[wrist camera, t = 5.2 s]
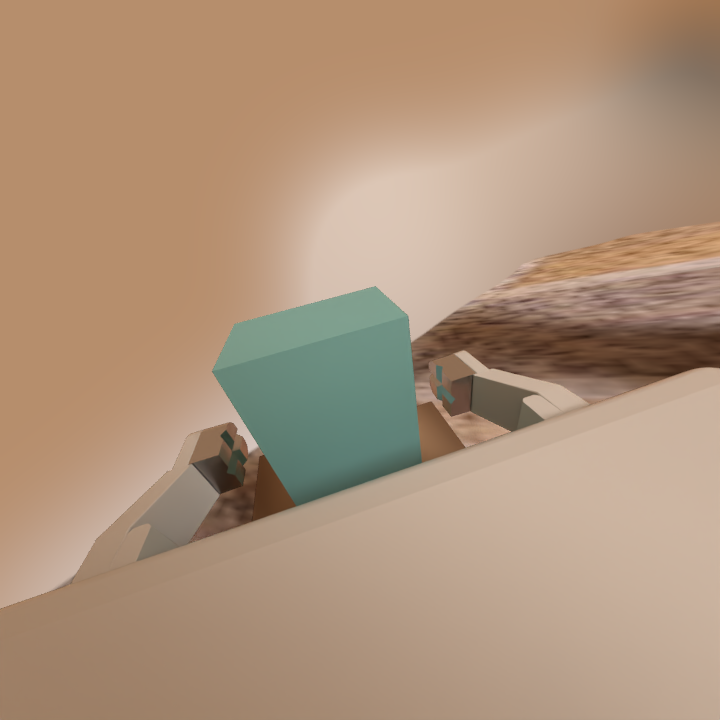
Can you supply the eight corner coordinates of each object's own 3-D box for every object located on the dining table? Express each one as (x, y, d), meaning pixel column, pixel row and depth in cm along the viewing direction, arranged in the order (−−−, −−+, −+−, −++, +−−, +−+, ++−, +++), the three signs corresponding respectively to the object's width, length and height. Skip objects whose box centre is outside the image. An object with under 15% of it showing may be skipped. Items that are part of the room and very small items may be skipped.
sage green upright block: (402, 458, 14) (375, 286, 9) (426, 511, 12) (408, 315, 7) (317, 487, 14) (234, 323, 9) (323, 548, 11) (212, 371, 6)
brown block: (433, 439, 20) (431, 401, 18) (537, 606, 12) (558, 573, 9) (281, 490, 19) (259, 456, 17) (275, 717, 10) (229, 709, 8)
